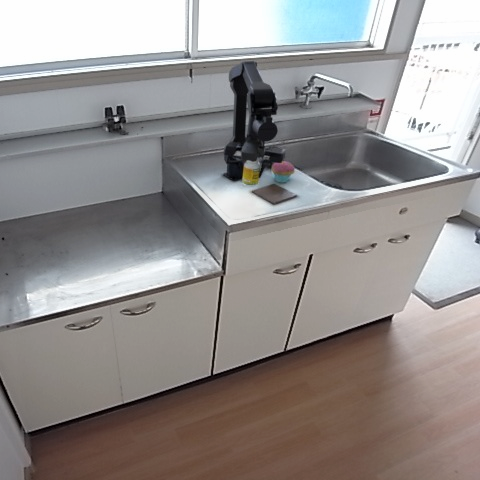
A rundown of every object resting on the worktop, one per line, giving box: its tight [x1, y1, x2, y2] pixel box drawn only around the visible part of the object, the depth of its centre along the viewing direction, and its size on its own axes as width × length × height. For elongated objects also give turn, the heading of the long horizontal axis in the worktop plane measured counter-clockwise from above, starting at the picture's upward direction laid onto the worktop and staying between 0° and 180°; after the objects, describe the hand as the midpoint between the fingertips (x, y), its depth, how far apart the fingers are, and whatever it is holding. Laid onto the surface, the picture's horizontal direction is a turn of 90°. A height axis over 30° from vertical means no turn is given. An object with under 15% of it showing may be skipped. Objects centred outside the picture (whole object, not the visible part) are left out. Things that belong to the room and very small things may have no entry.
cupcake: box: [270, 160, 296, 183], centre depth 147 cm, size 9×8×12 cm
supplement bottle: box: [241, 158, 262, 188], centre depth 129 cm, size 5×5×10 cm
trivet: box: [251, 183, 298, 205], centre depth 140 cm, size 11×11×1 cm
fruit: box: [260, 145, 280, 168], centre depth 162 cm, size 9×8×15 cm
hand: (251, 176), depth 131 cm, fingers closed on supplement bottle, 5 cm apart
